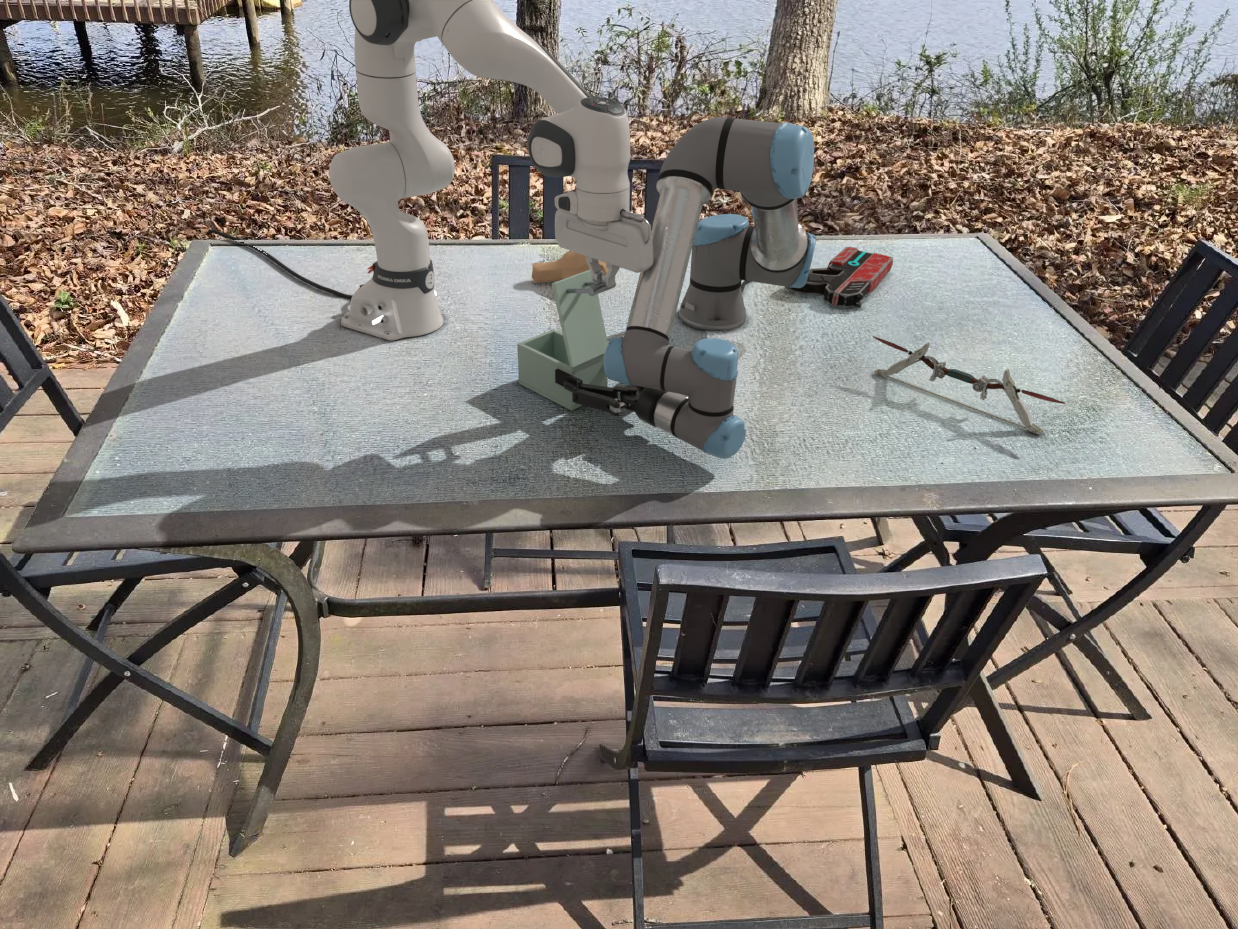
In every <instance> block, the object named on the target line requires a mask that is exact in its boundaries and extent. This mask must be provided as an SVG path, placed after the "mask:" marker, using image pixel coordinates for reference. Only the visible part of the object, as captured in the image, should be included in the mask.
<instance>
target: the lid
mask: <svg viewBox="0 0 1238 929" xmlns="http://www.w3.org/2000/svg"><path fill="white" fill-rule="evenodd" d="M616 287H617V282H616V281H615V284H614V286H611V287H608V286H605V285H603V284H602V282H600V283H597V282H594V281H592V272H591V271H590V270H588V271H585V272H582V273H579V274H576V275H574V276H571V277H568V278H565V279H563V280H560V281H553V282H551V288H552V292H553V296H554V301H555V305H556V310H557V315H558V319H559V323H560V328H561V333H563V338H564V342H565V347H566V351H567V356H568V360H569V365H570V367H575V366H577V365H579V364H582V363H584V362H586V361H588V360H590V359H593V358H595V357H597V356H599V355H602V354H604V353H605V351H606V348H607V346H608V343H609V341H608V338H607V332H606V331H607V330H606V328H605V322H604V317H603V312H602V307H601V303H600V297H599V294H602V293H605V292H606V291H610V290H613V289H614V288H616Z"/></svg>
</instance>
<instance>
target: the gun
mask: <svg viewBox="0 0 1238 929" xmlns="http://www.w3.org/2000/svg"><path fill="white" fill-rule="evenodd" d="M893 265H894V257H892V256H889V255H886V254H882V253H877V252H867V251H863V250H860V249H859V247H853V246H846V247H844V248H843V249H842V250H840V251H839V253H837V254H836V255H835V256H834V257H833V258H832V259H830V260H829V262H828V265H827V267H819V268H818V267H817V268H810V270H809V274H808V278H807V281H806V284H805V285H804V286H803V287H802V288H793V287H791V288H787V287H785V286H784V289H785V290H787V291H790V292H792V293H796V294H800V295H803V296H804V295H805V296H823V299H822V300H823V301H824V302H825V303H826V304H827V305H831V307H833V308H836V307H837V308H838V307H839V308H843V309H848V308H852V307H853V308H857V309H861V308H862V304H863V303H862V302H861V301H862V300H863V299H865V297H867V296H869V295H870V294H871V293H872V292H873V291H874V290H875V289H876V288H877V287H878V286H879V285H880V284H881V283H882V282H883V280H884V279H885V278H886V276H887V275H888V274H889V273H890V272H891V270H892V267H893Z"/></svg>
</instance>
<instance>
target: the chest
mask: <svg viewBox="0 0 1238 929" xmlns="http://www.w3.org/2000/svg"><path fill="white" fill-rule="evenodd" d="M516 347H517V370H518V384H519V385H521V386H523V387H525V388H527V389H528V390H531V391H532V392H534V393H536V394H538V395H540V396H542V397H544V398H546V399H548V400H549V401H552V402H554V403H556V404H557V405H560V406H562V407H563V408H566V410H569V411H571V412H572V411H575V410H577V409H578V408H580V407H582V406H583V405H581V404H577V403H574V402H572V392H570V391H568V390H566V389H565V388H564V387H563V386H561V385H559V384H557V383H555V370H556V369H560V370H562V371H564V372H566V373H568V374H570V375H572V376H574V377H577V378H579V379H581V380H583V384H589V385H596V386H603V387H608V377H607V376H606V374H605V372H604V356H605V353H604V354H602V355H599V356H597V357H595V358H593V359H590V360H588V361H586V362H584V363H582V364H579V365H577V366H575V367H570V365H569V360H568V356H567V351H566V347H565V342H564V338H563V333H562V331H559V330H557V329H555V328H553V329H549V330H548V331H545V332H543V333H540V334H537V335H536V336H533V337H531V338H528V339H526V340H523V341H521V342H518V343H516ZM583 390H584V389H583Z"/></svg>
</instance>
